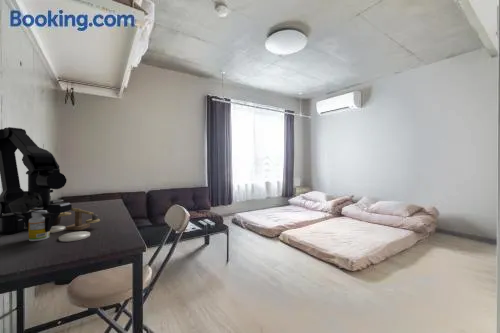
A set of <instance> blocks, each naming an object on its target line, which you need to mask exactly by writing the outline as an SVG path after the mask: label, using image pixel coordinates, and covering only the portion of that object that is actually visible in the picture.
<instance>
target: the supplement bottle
mask: <svg viewBox="0 0 500 333" xmlns="http://www.w3.org/2000/svg"><path fill="white" fill-rule="evenodd" d="M44 213H47V211H46V210H40V211H34V212H32V218H31V219H29V230H28V241H30V242H38V241H44V240H47V239H48V238H50V235H51V233H50V232H46V231H45V218H44V217H43V216H42V214H44Z"/></svg>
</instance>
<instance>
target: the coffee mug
mask: <svg viewBox="0 0 500 333" xmlns="http://www.w3.org/2000/svg"><path fill="white" fill-rule="evenodd" d="M50 201H53V204H55V203H60V202H64V199H51V200H50ZM50 205H51V204H50ZM38 211H40V210H38ZM46 211H47V210H46ZM61 220H62V216H58V217H57V219H56V220H55V222H54V224H53V226H59V225H60V224H61ZM53 226H52V227H53Z"/></svg>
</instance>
